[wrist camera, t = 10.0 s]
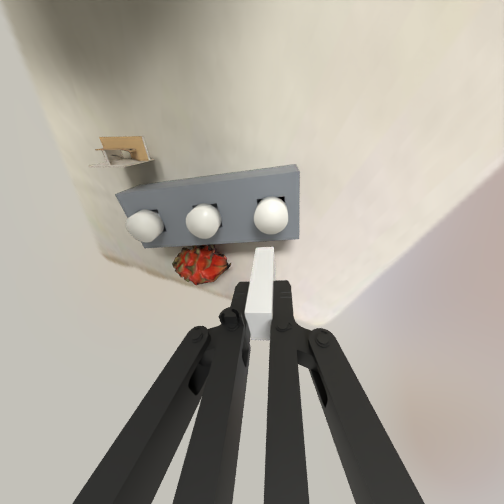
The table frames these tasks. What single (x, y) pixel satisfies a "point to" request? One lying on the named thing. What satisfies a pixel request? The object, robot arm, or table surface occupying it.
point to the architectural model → (114, 154)
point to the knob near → (271, 215)
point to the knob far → (145, 225)
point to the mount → (228, 201)
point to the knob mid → (204, 220)
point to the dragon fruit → (200, 264)
